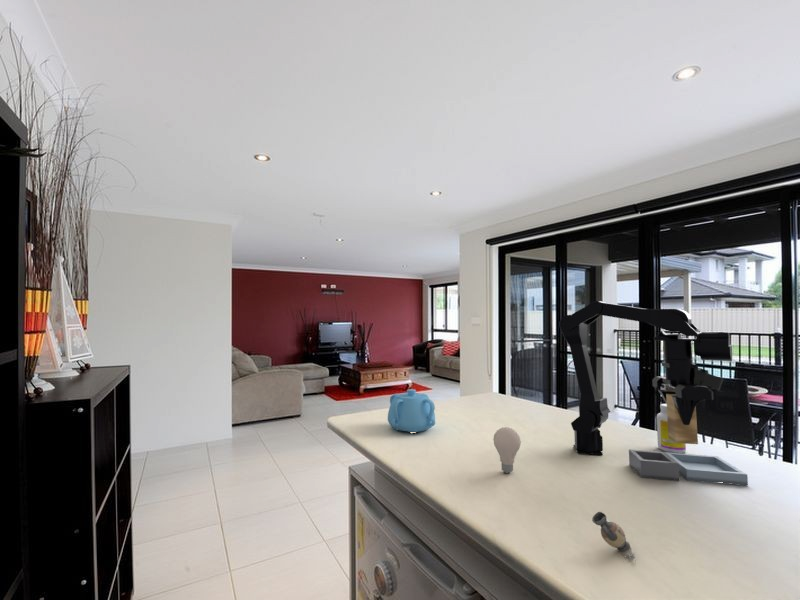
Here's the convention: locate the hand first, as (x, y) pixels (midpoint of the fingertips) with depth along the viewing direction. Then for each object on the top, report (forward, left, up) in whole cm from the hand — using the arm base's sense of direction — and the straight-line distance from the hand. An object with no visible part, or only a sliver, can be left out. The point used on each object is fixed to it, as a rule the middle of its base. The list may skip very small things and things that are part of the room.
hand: (681, 422), depth 93 cm
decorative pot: (-73, +21, -13) cm, 77 cm away
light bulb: (-42, -10, -13) cm, 45 cm away
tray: (+5, +2, -12) cm, 13 cm away
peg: (0, 0, -5) cm, 4 cm away
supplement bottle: (+5, +19, -13) cm, 23 cm away
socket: (-7, -1, -12) cm, 14 cm away
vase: (-27, -39, -13) cm, 49 cm away
